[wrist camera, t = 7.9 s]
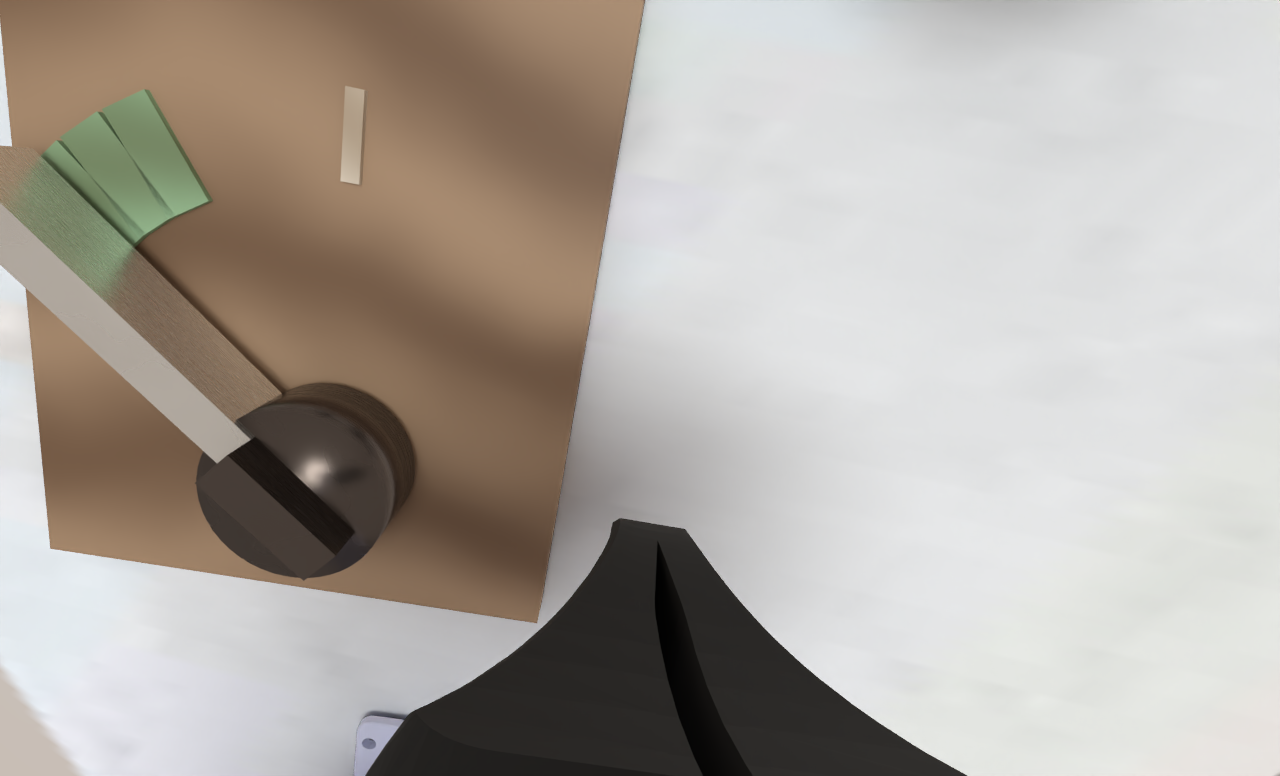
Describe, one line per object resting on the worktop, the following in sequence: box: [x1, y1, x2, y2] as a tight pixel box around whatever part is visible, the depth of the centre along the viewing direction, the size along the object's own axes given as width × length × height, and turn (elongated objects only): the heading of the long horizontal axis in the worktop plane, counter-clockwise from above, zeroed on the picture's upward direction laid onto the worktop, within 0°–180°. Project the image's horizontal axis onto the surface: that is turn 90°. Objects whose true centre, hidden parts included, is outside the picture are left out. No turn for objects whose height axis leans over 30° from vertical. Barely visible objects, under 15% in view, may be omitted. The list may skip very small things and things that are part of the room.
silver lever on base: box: [0, 146, 415, 581], centre depth 17 cm, size 14×5×4 cm, turn 38°
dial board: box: [0, 0, 645, 623], centre depth 19 cm, size 20×16×1 cm
